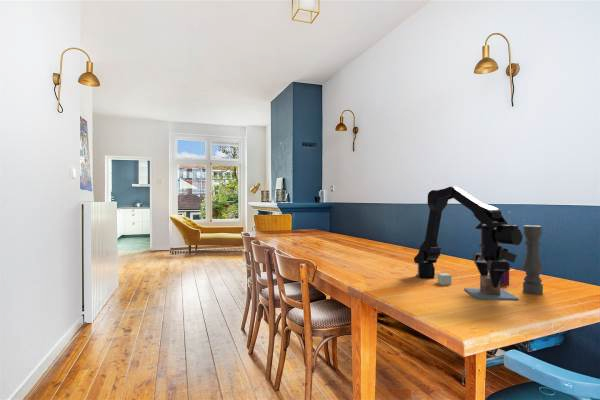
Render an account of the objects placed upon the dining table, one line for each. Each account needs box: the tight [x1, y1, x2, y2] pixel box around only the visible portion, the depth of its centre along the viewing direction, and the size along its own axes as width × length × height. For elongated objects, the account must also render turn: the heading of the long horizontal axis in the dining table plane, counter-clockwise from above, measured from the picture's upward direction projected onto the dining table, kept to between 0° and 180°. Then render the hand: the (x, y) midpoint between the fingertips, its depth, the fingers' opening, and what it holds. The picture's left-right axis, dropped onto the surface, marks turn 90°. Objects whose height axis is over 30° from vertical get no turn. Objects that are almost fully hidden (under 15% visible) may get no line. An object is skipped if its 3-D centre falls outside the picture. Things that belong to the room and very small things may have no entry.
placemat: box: [463, 287, 519, 301], centre depth 125 cm, size 14×12×1 cm
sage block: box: [437, 272, 452, 286], centre depth 142 cm, size 4×4×4 cm
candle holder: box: [522, 224, 544, 296], centre depth 128 cm, size 6×6×25 cm
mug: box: [500, 270, 510, 286], centre depth 141 cm, size 7×10×7 cm
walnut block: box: [479, 274, 501, 295], centre depth 125 cm, size 5×5×6 cm
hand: (490, 284), depth 125 cm, fingers open, 9 cm apart
